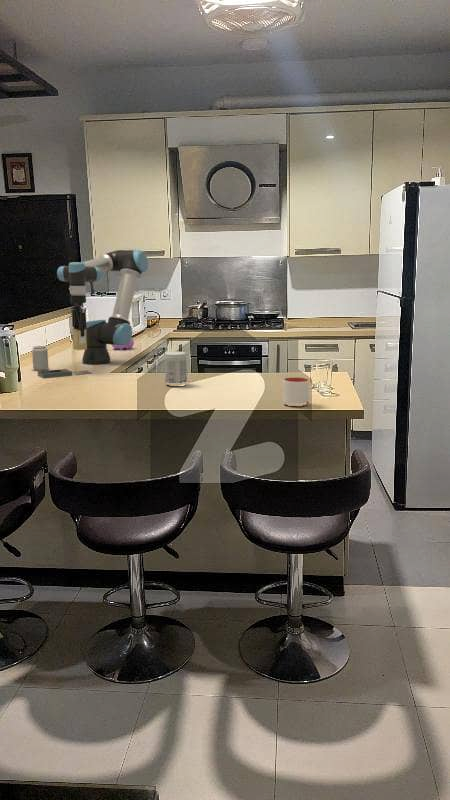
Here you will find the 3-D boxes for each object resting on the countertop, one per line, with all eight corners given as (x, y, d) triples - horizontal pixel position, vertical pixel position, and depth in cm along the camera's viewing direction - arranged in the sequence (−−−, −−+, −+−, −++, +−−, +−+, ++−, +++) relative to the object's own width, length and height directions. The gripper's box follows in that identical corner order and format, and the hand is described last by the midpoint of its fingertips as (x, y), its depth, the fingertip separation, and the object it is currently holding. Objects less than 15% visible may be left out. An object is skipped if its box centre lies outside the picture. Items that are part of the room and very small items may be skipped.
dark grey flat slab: (65, 372, 307) (65, 368, 306) (72, 375, 300) (71, 371, 299) (37, 375, 299) (37, 371, 299) (43, 378, 292) (43, 373, 292)
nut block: (83, 348, 308) (82, 328, 306) (87, 349, 303) (86, 329, 301) (73, 348, 305) (72, 328, 303) (77, 350, 301) (76, 329, 298)
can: (44, 371, 311) (42, 347, 308) (30, 370, 313) (29, 347, 310) (51, 368, 318) (49, 345, 316) (37, 368, 320) (36, 345, 317)
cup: (280, 402, 245) (281, 377, 242) (305, 401, 245) (306, 377, 243) (285, 408, 235) (285, 382, 233) (310, 407, 236) (311, 382, 234)
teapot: (141, 350, 388) (140, 330, 385) (120, 352, 379) (120, 332, 377) (125, 346, 403) (125, 328, 401) (106, 348, 395) (105, 329, 392)
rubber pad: (86, 370, 312) (86, 370, 312) (92, 373, 306) (92, 372, 306) (70, 372, 308) (70, 371, 308) (76, 374, 301) (76, 374, 301)
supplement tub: (183, 382, 283) (183, 351, 280) (189, 386, 274) (189, 353, 271) (162, 384, 280) (162, 351, 277) (168, 388, 271) (167, 354, 268)
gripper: (63, 294, 304) (66, 341, 309) (77, 295, 289) (79, 345, 294) (78, 293, 308) (80, 340, 313) (92, 295, 293) (94, 344, 298)
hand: (80, 342), depth 303 cm, fingers closed on nut block, 5 cm apart
